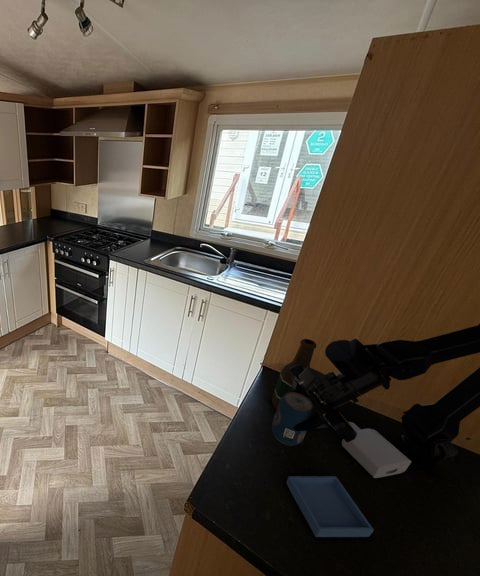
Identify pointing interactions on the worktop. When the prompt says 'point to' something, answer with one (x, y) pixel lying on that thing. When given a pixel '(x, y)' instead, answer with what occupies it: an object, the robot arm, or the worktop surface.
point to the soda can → (291, 418)
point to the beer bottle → (285, 376)
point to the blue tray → (328, 507)
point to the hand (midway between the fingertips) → (286, 416)
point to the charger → (376, 453)
